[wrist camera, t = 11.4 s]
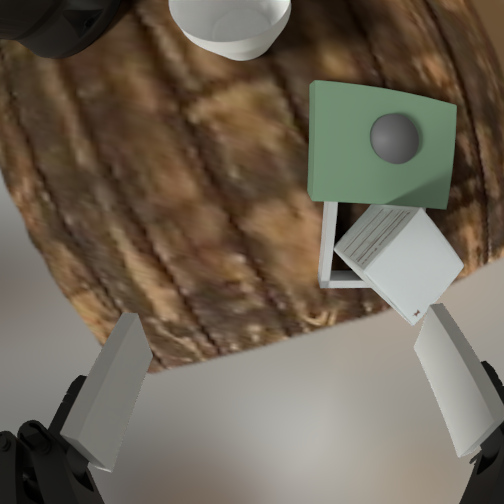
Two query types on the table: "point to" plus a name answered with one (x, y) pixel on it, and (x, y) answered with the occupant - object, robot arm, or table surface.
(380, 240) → the supplement box
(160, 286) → the table surface
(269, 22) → the cup
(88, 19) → the robot arm
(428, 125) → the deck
